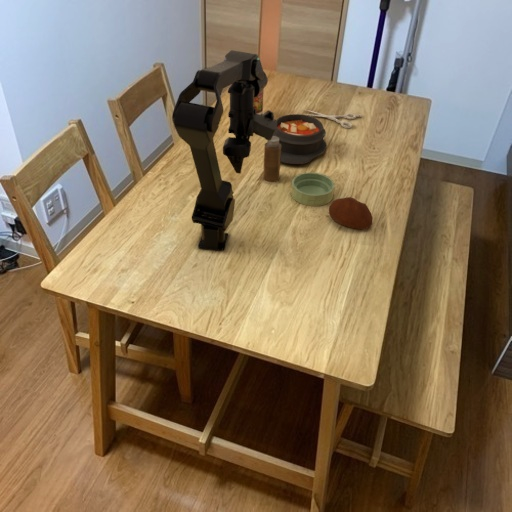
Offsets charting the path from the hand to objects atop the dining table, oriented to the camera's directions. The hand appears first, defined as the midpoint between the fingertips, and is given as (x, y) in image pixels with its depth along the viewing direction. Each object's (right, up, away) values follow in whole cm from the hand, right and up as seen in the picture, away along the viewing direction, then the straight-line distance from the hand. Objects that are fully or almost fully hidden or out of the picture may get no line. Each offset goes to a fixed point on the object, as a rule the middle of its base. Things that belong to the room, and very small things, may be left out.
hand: (241, 163), depth 135 cm
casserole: (+17, +10, +31) cm, 37 cm away
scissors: (+29, +24, +49) cm, 62 cm away
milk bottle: (+2, +24, +48) cm, 54 cm away
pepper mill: (+8, -2, +17) cm, 19 cm away
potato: (+28, -16, +2) cm, 32 cm away
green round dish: (+19, -7, +11) cm, 23 cm away
